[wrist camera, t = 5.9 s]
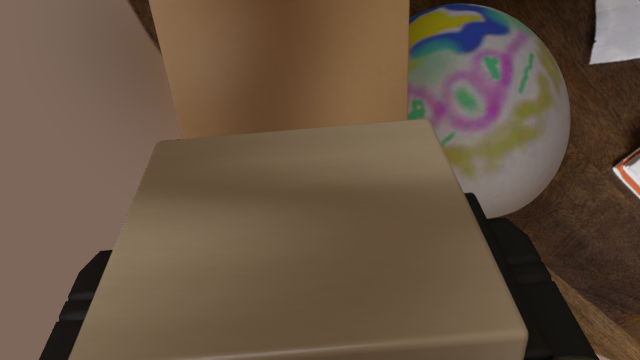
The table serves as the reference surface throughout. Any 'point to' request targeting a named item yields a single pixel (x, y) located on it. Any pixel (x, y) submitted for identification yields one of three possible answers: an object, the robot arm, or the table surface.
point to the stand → (283, 63)
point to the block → (302, 254)
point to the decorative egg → (489, 101)
